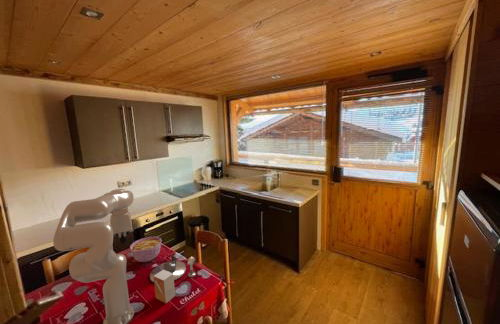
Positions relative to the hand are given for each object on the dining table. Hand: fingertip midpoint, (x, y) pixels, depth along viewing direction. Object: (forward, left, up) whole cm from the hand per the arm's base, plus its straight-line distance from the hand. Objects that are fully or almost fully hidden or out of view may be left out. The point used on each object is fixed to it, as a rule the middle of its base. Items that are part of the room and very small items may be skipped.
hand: (123, 243), depth 121 cm
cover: (-7, -22, -25) cm, 34 cm away
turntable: (-6, -21, -26) cm, 34 cm away
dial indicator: (-19, -30, -26) cm, 44 cm away
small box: (-25, -11, -27) cm, 38 cm away
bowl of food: (+21, -18, -27) cm, 38 cm away
